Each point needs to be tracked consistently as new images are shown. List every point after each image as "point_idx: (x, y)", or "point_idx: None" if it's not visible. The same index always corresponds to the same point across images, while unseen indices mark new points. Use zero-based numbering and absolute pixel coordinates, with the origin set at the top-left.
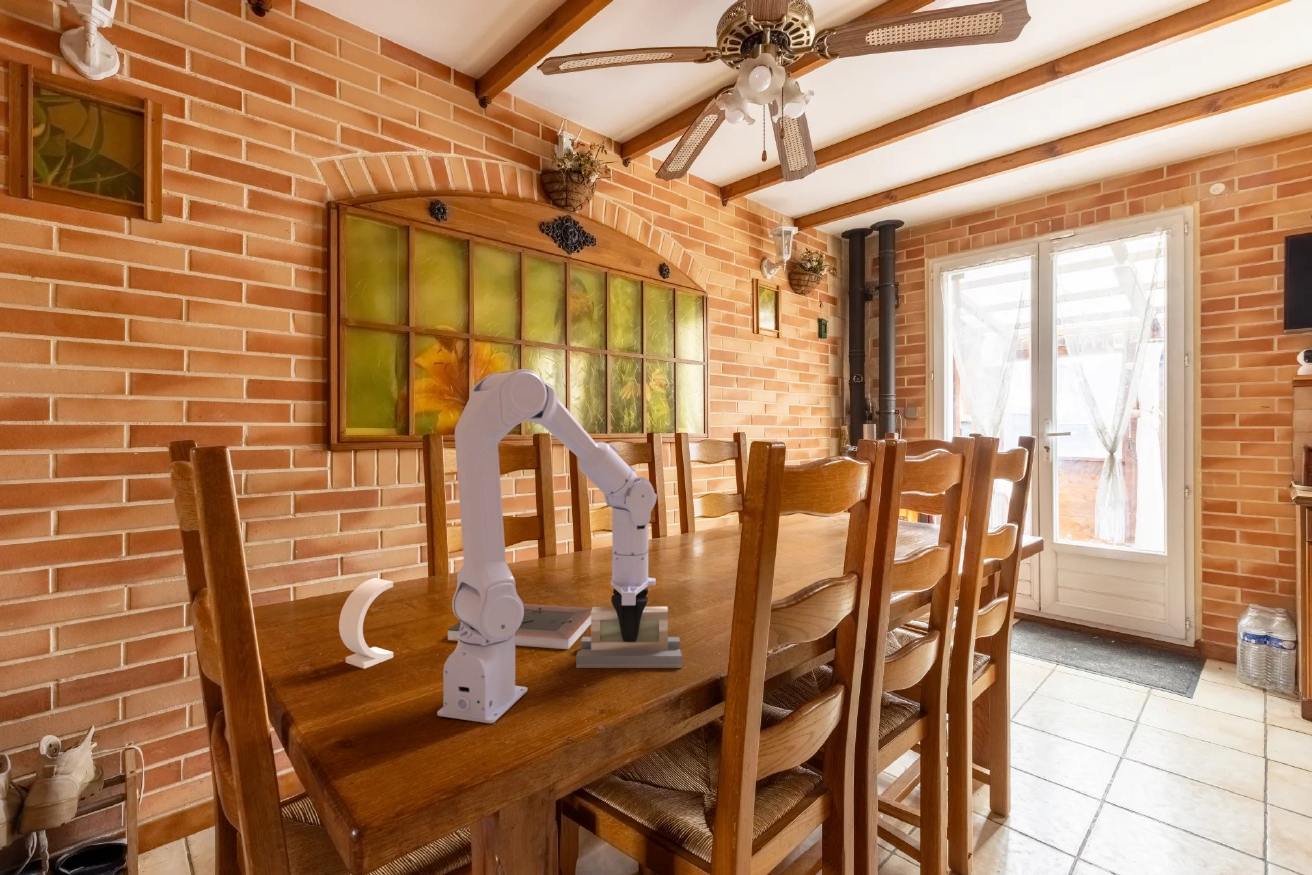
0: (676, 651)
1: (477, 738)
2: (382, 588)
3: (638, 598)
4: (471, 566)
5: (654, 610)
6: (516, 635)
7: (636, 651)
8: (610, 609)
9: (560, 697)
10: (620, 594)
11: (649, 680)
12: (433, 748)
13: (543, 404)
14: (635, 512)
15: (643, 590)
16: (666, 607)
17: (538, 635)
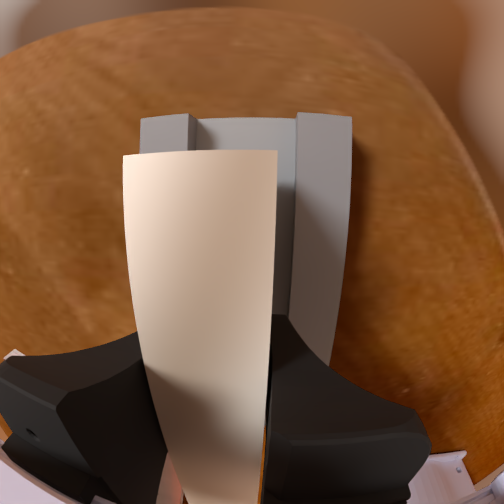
0: (303, 131)
1: (481, 446)
2: None
3: (325, 491)
4: None
5: (229, 278)
6: (180, 495)
7: (294, 295)
8: (217, 481)
9: (436, 413)
10: (144, 502)
11: (421, 242)
12: (475, 464)
13: None
14: None
15: (75, 437)
16: (147, 163)
17: (173, 478)
